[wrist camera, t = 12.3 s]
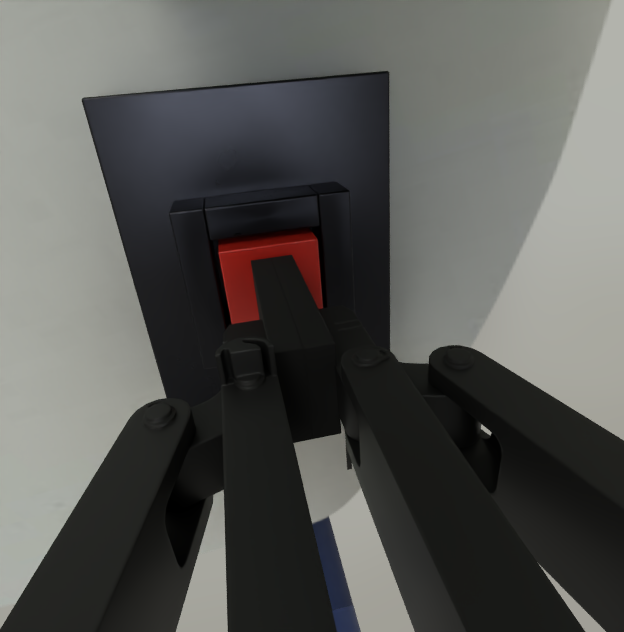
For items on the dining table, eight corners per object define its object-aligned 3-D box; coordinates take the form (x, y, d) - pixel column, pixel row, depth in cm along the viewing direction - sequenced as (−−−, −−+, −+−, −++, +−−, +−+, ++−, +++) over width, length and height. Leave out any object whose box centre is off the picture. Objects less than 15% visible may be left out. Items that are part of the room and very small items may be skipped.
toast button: (314, 304, 20) (324, 325, 18) (232, 317, 19) (234, 340, 17) (307, 224, 18) (317, 238, 16) (217, 236, 17) (218, 252, 16)
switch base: (372, 350, 26) (405, 403, 21) (177, 385, 24) (168, 449, 20) (365, 74, 19) (410, 67, 15) (100, 98, 18) (62, 98, 13)
